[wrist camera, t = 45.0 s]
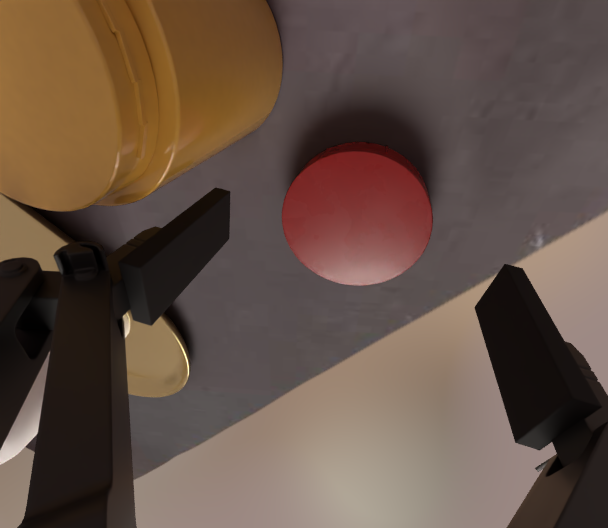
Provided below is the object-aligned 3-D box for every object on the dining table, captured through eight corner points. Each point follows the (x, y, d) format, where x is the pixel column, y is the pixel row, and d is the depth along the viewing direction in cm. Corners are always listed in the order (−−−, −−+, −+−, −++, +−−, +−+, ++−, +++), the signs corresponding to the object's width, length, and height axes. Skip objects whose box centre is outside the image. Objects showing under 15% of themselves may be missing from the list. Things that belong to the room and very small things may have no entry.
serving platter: (-200, 16, 19) (-242, 13, 18) (233, 348, 28) (225, 362, 27) (-157, 201, 29) (-181, 208, 28) (151, 401, 38) (142, 413, 37)
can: (65, 266, 24) (-145, 407, 15) (139, 307, 25) (-15, 466, 16) (63, 311, 28) (-106, 446, 19) (127, 345, 29) (-2, 491, 20)
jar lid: (313, 116, 15) (305, 123, 14) (461, 173, 15) (468, 186, 14) (276, 241, 20) (268, 256, 19) (389, 285, 20) (388, 303, 19)
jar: (293, -33, 12) (91, -196, 4) (274, 154, 17) (160, 257, 9) (123, -64, 13) (-345, -256, 5) (148, 124, 18) (-69, 192, 9)
